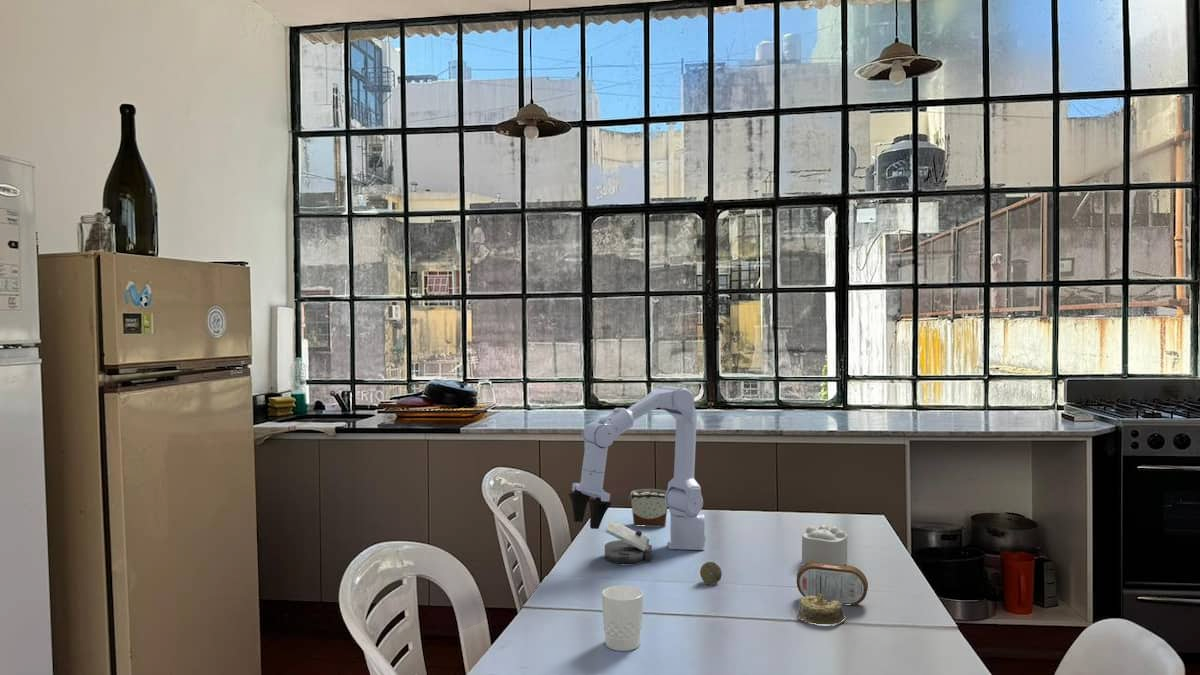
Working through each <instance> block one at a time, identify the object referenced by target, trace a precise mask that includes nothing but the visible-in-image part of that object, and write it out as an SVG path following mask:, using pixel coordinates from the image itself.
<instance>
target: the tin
mask: <svg viewBox="0 0 1200 675" xmlns="http://www.w3.org/2000/svg"><path fill="white" fill-rule="evenodd" d="M796 574H797V575H796V587H797V590H798V591H799V593H800V595H802V597H805V596H811V595H812V596H816V597H821V596H819V595H820V594H821V595H822V596H823V600H826V601H827V602H832V601H839V602H840V603H842V604H851V605H854V606H858V605H859V604H860V603H862V602H863V601H864V600H865V598H866V596H867V594H868V589H869V583H868V580H867V577H866V575H865V573H864V572H862V571H861V570H860V568H858V567H855V566H852V565H839V564H830V563H821V562H809V563H806V564H804V565H803V564H802V566H801V567H800V568H799V569H798V571H797V573H796ZM819 593H820V594H819ZM818 594H819V595H818Z"/></svg>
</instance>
